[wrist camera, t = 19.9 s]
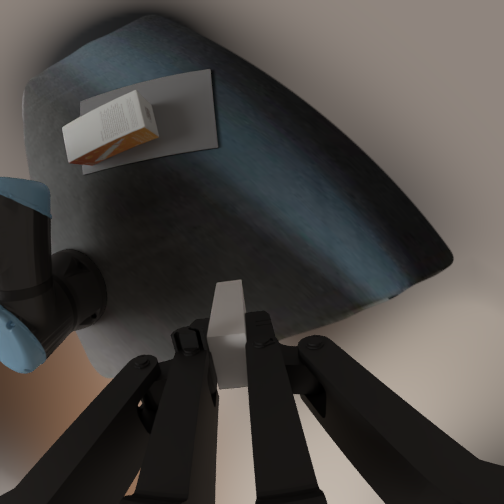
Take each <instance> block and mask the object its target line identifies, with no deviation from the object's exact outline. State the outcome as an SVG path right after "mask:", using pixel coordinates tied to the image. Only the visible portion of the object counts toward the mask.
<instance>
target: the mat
mask: <svg viewBox="0 0 504 504" xmlns="http://www.w3.org/2000/svg"><path fill="white" fill-rule="evenodd" d="M134 90H137V91H138V92H139V93H140V94H141V95H142V96H143V97H144V98H145V99H146V100H147V101H148V102H149V103H150V104H151V105H152V109H153V113H154V117H155V121H156V125H157V130H158V134H159V137H158V138H156V139H153V140H151V141H148V142H145V143H143V144H140V145H138V146H135V147H133V148H130V149H128V150H126V151H123V152H121V153H119V154H116V155H114V156H112V157H110V158H107V159H105V160H103V161H101V162H99V163H97V164H95V165H93V166H90V165H82V171H83V175H86V174H90V173H93V172H97V171H101V170H105V169H109V168H113V167H117V166H121V165H125V164H130V163H134V162H139V161H144V160H148V159H153V158H158V157H164V156H169V155H175V154H181V153H187V152H193V151H199V150H206V149H213V148H218V140H217V131H216V121H215V112H214V101H213V91H212V81H211V70H210V69H207V70H200V71H194V72H188V73H182V74H177V75H172V76H167V77H162V78H158V79H153V80H149V81H145V82H141V83H137V84H134V85H130V86H126V87H123V88H119V89H116V90H113V91H110V92H107V93H104V94H101V95H98V96H95V97H92V98H89V99H86V100H84V101H81V102H80V117H81V116H83V115H85V114H86V113H88V112H90V111H92V110H94V109H96V108H98V107H100V106H102V105H104V104H106V103H108V102H110V101H112V100H114V99H116V98H118V97H121V96H123V95H125V94H127V93H130V92H132V91H134Z"/></svg>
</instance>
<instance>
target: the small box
mask: <svg viewBox="0 0 504 504" xmlns="http://www.w3.org/2000/svg"><path fill="white" fill-rule="evenodd" d="M62 130H63V136H64V142H65V147H66V152H67V157H68V162H69V163H72V164H81V165H90V166H93V165H95V164H97V163H99V162H101V161H103V160H105V159H107V158H110V157H112V156H114V155H116V154H119V153H121V152H123V151H126V150H128V149H130V148H133V147H135V146H138V145H140V144H143V143H145V142H148V141H151V140H153V139H156V138H158V137H159V134H158V130H157V125H156V121H155V117H154V113H153V109H152V105H151V104H150V103H149V102H148V101H147V100H146V99H145V98H144V97H143V96H142V95H141V94H140V93H139V92H138V91H137V90H134V91H132V92H130V93H127V94H125V95H123V96H121V97H118V98H116V99H114V100H112V101H110V102H108V103H106V104H104V105H102V106H100V107H98V108H96V109H94V110H92V111H90V112H88V113H86V114H85V115H83V116H81V117H79V118H77V119H76V120H74V121H72V122H70V123H69V124H67V125H65V126H64V127H62Z"/></svg>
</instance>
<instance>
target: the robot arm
mask: <svg viewBox="0 0 504 504" xmlns="http://www.w3.org/2000/svg"><path fill="white" fill-rule="evenodd" d="M51 219H52V215H51V214H50V191H49V189H48V187H47V186H46V185H45V184H43V183H41V182H37V181H32V180H26V179H18V178H10V177H0V361H1V362H2V363H3V364H4V365H6V366H7V367H8V368H10V369H12V370H14V371H16V372H19V373H30V372H32V371H34V370H35V369H36V368H37V367H38V366H39V365H40V364H43V363H44V362H45V360H46V359H47V358H48V357H49V356H50V355H51V354H52V353H53V351H54V350H55V349H56V348H57V347H58V346H59V345H60V344H61V343H62V342H63V341H64V340H65V338H66V337H67V336H68V335H69V334H70V333H71V332H73V331H76V330H80V329H83V328H86V327H89V326H91V325H92V324H94V323H95V322H96V321H97V320H98V319H99V318H100V316H101V315H102V314H103V312H104V310H105V307H106V302H107V292H106V286H105V282H104V279H103V277H102V275H101V273H100V271H99V269H98V268H97V266H96V265H95V264H94V263H93V262H92V260H91V259H89V258H88V257H87V256H86V255H84V254H83V253H81V252H79V251H76V250H71V249H66V250H62V251H59V252H57V253H55V254H53V255H51ZM171 338H172V342H173V345H174V349H175V352H176V353H175V356H174V358H173V359H171V360H168V361H164V362H160V363H158V361H157V358H156V357H154V356H152V355H142V356H141V355H140V356H137V357H136V358H133V359H132V360H131V361H129V362H128V364H127V365H126V366H125V367H124V368H123V369H122V370H121V371H120V372H119V373H118V374H117V375H116V376H115V377H114V379H113V380H112V381H111V382H110V383H109V384H108V385H107V386H106V387H105V388H104V389H103V390H102V392H101V393H100V394H99V395H98V396H97V397H96V398H95V399H94V400H93V401H92V402H91V403H90V405H89V406H88V407H87V408H86V409H85V410H84V411H83V412H82V413H81V414H80V415H79V417H78V418H77V419H76V420H75V421H74V422H73V423H72V424H71V425H70V427H69V428H68V429H67V430H66V431H65V432H64V433H63V434H62V435H61V436H60V438H59V439H58V440H57V441H56V442H55V443H54V444H53V445H52V446H51V448H50V449H49V450H48V451H47V452H46V453H45V454H44V455H43V457H42V458H41V459H40V460H39V461H38V462H37V463H36V464H35V466H34V467H33V468H32V469H31V470H30V471H29V472H28V474H27V475H26V476H25V477H24V478H23V479H22V480H21V482H20V483H19V484H18V485H17V486H16V487H15V488H14V489H12V490H11V491H9V492H7V493H5V494H3V495H1V496H0V504H215V481H216V451H217V450H216V449H217V426H218V406H219V395H218V391H217V383H218V386H219V389H229V388H239V387H248V393H249V408H250V421H251V434H252V447H253V459H254V471H255V483H256V496H257V499H256V502H255V504H327V501H326V498H325V495H324V493H323V491H321V490H320V489H319V487H318V484H317V480H316V476H315V473H314V469H313V465H312V462H311V458H310V454H309V451H308V447H307V444H306V440H305V436H304V432H303V429H302V425H301V421H300V418H299V414H298V411H297V407H296V403H295V400H294V396H293V394H300V396H301V399H302V400H303V402H304V403H305V404H306V405H307V407H308V408H309V410H310V411H311V412H312V413H313V415H314V416H315V417H316V419H317V420H318V421H319V423H320V424H321V425H322V427H323V428H324V429H325V431H326V432H327V433H328V434H329V436H330V437H331V438H332V440H333V441H334V442H335V443H336V445H337V446H338V447H339V448H340V450H341V451H342V452H343V453H344V455H345V456H346V457H347V458H348V460H349V461H350V462H351V463H352V465H353V466H354V467H355V468H356V469H357V471H358V472H359V473H360V474H361V476H362V477H363V478H364V479H365V480H366V481H367V483H368V484H369V485H370V486H371V487H372V489H373V490H374V491H375V492H376V493H377V494H378V495H379V497H380V498H381V499H382V500H383V501H384V503H385V504H504V466H501V465H497V464H493V463H490V462H486V461H483V460H479V459H478V458H477V457H475V456H474V455H473V454H471V453H470V452H469V451H468V450H466V449H465V448H464V447H462V446H461V445H460V444H459V443H457V442H456V441H455V440H453V439H452V438H451V437H450V436H448V435H447V434H446V433H445V432H443V431H442V430H441V429H439V428H438V427H437V426H436V425H434V424H433V423H432V422H431V421H429V420H428V419H427V418H426V417H424V416H423V415H422V414H421V413H419V412H418V411H417V410H416V409H414V408H413V407H412V406H411V405H409V404H408V403H407V402H405V401H404V400H403V399H402V398H401V397H400V396H398V395H397V394H396V393H395V392H393V391H392V390H391V389H390V388H388V387H387V386H386V385H385V384H384V383H382V382H381V381H380V380H379V379H377V378H376V377H375V376H374V375H373V374H371V373H370V372H369V371H368V370H366V369H365V368H364V367H363V366H362V365H360V364H359V363H358V362H357V361H356V360H354V359H353V358H352V357H351V356H350V355H348V354H347V353H346V352H345V351H344V350H342V349H341V348H340V347H339V346H337V345H336V344H335V343H334V342H333V341H332V340H330V339H329V338H327V337H325V336H320V335H313V336H308V337H305V338H303V339H301V340H300V342H299V343H298V346H286V345H283V344H280V343H279V341H278V340H277V338H276V337H275V334H274V330H273V326H272V323H271V319H270V315H269V314H268V313H267V312H265V311H257V312H250V313H246V309H245V302H244V295H243V288H242V281H241V280H234V281H226V282H218V283H217V284H216V289H215V294H214V299H213V305H212V310H211V316H210V318H206V319H196V320H195V321H194V322H193V323H192V324H191V325H190V326H187V327H182V328H179V329H177V330H175V331H174V332H173V333H172V334H171ZM140 400H141V401H142V405H141V406H140V407H138V404H139V402H140ZM140 468H141V470H140ZM139 470H140V474H139V478H138V482H137V486H136V490H135V492H134V494H132V495H128V496H124V495H125V493H126V492H127V490H128V489H129V487H130V485H131V484H132V482H133V480H134V479H135V477H136V475H137V474H138V472H139Z"/></svg>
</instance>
